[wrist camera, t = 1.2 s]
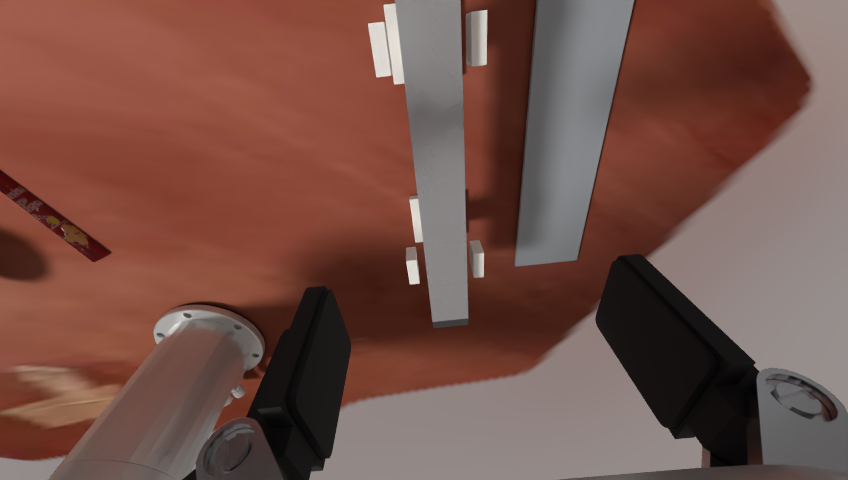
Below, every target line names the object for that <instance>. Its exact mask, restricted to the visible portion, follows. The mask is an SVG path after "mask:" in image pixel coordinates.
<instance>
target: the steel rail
mask: <svg viewBox="0 0 848 480" xmlns="http://www.w3.org/2000/svg"><path fill="white" fill-rule="evenodd" d="M395 6H396V15H397V23H398V32H399V40H400V49H401V57H402V66H403V74H404V83H405V91H406V100H407V108H408V117H409V125H410V134H411V142H412V151H413V159H414V168H415V177H416V185H417V194H418V202H419V211H420V219H421V228H422V236H423V245H424V253H425V262H426V270H427V279H428V287H429V296H430V304H431V313H432V321H433V328H442V327H452V326H462V325H468V285H467V244H466V203H465V162H464V121H463V80H462V40H461V0H395Z"/></svg>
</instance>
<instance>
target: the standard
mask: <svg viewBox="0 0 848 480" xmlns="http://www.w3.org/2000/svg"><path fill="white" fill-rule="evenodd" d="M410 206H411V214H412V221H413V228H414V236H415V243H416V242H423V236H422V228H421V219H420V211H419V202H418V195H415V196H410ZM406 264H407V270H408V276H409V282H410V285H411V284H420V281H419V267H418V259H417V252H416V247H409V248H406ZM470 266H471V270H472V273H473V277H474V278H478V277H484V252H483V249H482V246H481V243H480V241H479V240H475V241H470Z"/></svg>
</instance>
